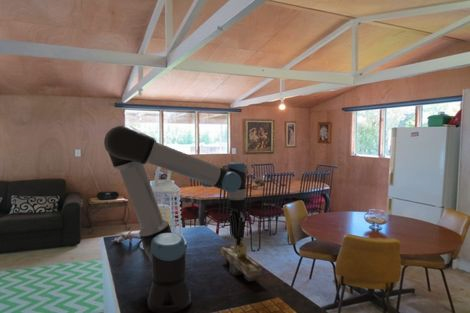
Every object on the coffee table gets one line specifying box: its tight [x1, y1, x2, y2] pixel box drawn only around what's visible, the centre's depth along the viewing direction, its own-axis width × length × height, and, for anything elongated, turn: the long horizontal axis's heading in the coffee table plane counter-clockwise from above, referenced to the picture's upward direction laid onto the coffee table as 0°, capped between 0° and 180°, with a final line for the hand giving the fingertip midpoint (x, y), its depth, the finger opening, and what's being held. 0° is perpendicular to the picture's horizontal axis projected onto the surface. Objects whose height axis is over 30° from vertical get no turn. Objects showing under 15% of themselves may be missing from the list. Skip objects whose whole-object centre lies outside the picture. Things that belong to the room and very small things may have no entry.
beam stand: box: [219, 245, 262, 282], centre depth 140 cm, size 28×7×7 cm, turn 25°
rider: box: [237, 242, 248, 261], centre depth 137 cm, size 4×4×7 cm
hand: (237, 252), depth 141 cm, fingers closed
